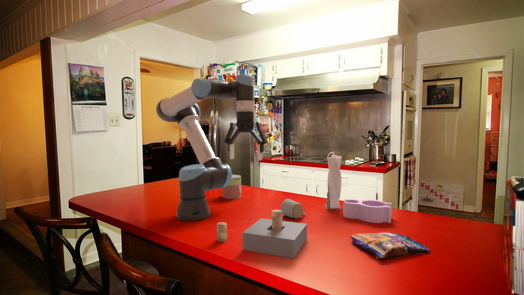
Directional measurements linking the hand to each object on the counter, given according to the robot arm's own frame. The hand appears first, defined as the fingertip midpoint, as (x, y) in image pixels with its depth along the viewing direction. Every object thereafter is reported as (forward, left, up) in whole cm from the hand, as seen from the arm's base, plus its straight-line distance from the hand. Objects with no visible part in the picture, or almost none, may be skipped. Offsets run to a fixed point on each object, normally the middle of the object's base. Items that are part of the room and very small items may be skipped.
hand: (245, 159), depth 130 cm
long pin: (+22, -22, -27) cm, 41 cm away
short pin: (+2, -25, -27) cm, 37 cm away
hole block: (+22, -22, -27) cm, 41 cm away
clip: (+50, +21, -27) cm, 60 cm away
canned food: (-26, +34, -27) cm, 51 cm away
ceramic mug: (+19, +11, -27) cm, 35 cm away
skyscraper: (+33, +33, -27) cm, 54 cm away
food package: (+60, -10, -28) cm, 66 cm away
